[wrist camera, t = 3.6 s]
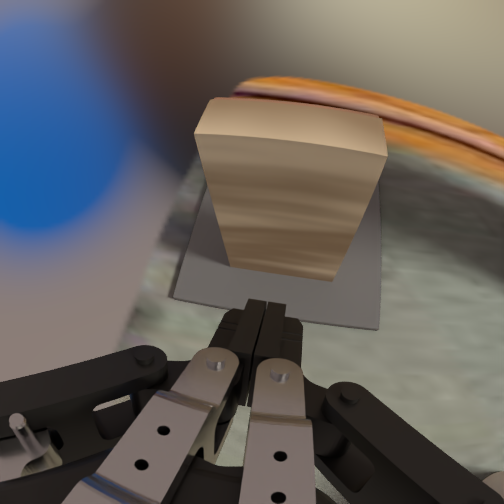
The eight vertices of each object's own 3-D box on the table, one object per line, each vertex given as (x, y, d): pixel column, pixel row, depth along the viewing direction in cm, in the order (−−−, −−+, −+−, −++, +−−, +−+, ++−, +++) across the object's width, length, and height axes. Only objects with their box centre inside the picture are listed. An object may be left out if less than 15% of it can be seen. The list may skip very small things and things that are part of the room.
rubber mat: (376, 330, 19) (378, 329, 19) (174, 299, 21) (172, 297, 21) (371, 129, 28) (372, 125, 27) (235, 112, 30) (235, 108, 29)
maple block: (332, 281, 20) (387, 156, 10) (230, 267, 21) (193, 133, 11) (334, 249, 21) (381, 114, 11) (237, 235, 22) (212, 95, 12)
